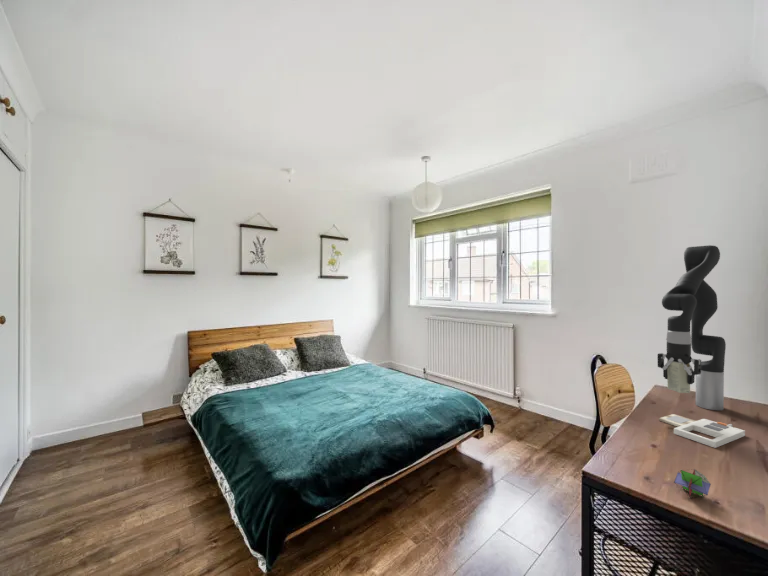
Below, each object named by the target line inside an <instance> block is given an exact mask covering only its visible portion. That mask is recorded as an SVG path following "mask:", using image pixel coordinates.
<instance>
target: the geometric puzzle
mask: <svg viewBox="0 0 768 576" xmlns="http://www.w3.org/2000/svg"><path fill="white" fill-rule="evenodd" d="M688 471H689V469H687V468H686V470H684V469H680V471H677V474H676V476H675V479H674V481H673V483H674V484H676V485H677V487H680V486H681V489H682V488H683V489H686V490H685V491H687V490H688V496H689V497H690V499H692V498H693V497H691V496H692V494H695V493H696V494H695V495H697V494H698V495H697V496H696V498H700V495H702V496H703V497H707V496H708V495H709V491H710V487H711V485H712V483H710V481H709V479H708V478H707V477H706V475H705V474H703V473H702V472H700V471H698V470H697V469H695V468H693V473H691V472H688ZM683 489H682V490H683ZM692 492H693V493H692ZM702 496H701V497H702ZM689 497H688V498H689Z"/></svg>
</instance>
